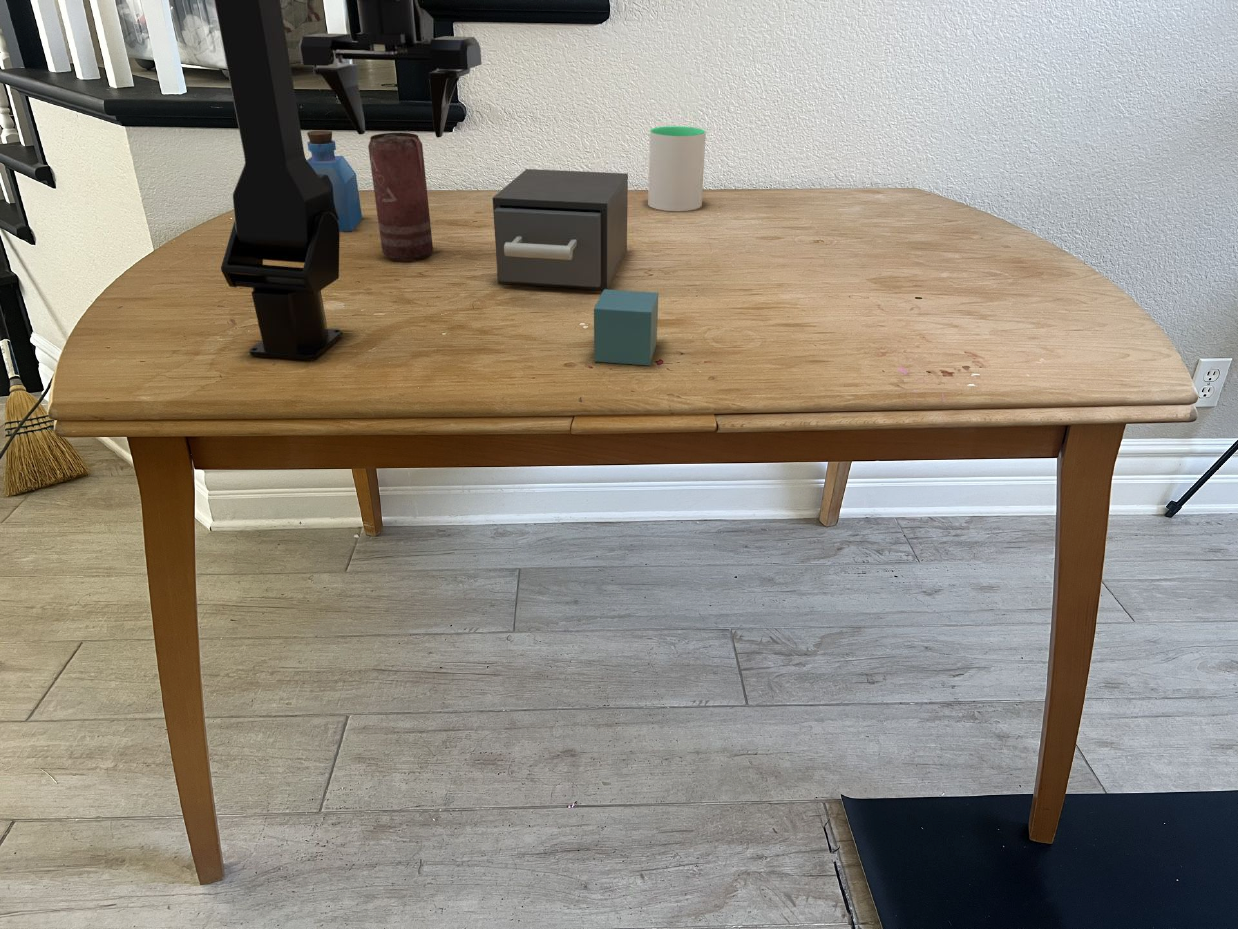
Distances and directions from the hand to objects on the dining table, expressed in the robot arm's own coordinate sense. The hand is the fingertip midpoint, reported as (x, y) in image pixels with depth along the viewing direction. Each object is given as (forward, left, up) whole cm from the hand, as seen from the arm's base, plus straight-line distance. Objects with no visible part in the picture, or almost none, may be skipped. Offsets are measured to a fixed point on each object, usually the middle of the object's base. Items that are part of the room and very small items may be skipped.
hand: (400, 135), depth 97 cm
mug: (+34, -28, -15) cm, 47 cm away
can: (+1, +1, -15) cm, 15 cm away
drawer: (-4, -19, -13) cm, 23 cm away
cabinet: (0, -19, -14) cm, 24 cm away
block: (-24, -30, -14) cm, 41 cm away
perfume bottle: (+12, +16, -15) cm, 25 cm away
